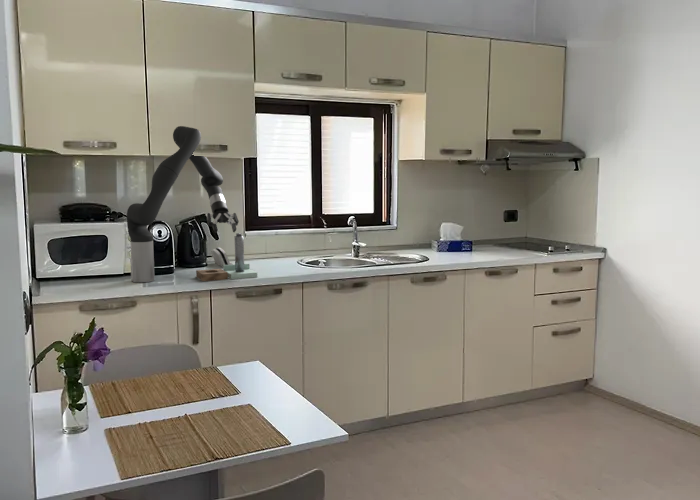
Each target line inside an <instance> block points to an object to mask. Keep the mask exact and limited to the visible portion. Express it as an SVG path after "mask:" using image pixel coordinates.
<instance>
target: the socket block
mask: <svg viewBox="0 0 700 500" xmlns="http://www.w3.org/2000/svg"><path fill="white" fill-rule="evenodd" d="M195 273H196V274H195V275H196V277H195V278H197V279H198V280H200V281H202V282H208V281H209V282H210V281H221V280H224V281H225V280H228V279H229V278H228V272H226V271H224V270H223V269H222V268H214V269H211V268H210V269H199V270H198V269H196V270H195Z"/></svg>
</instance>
